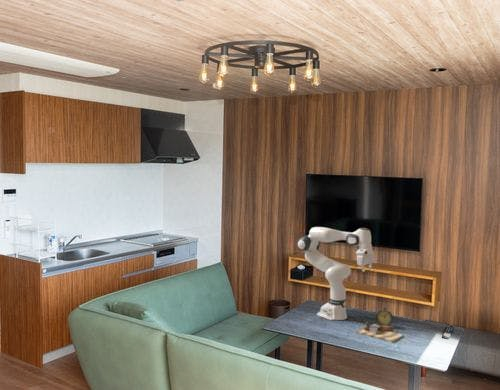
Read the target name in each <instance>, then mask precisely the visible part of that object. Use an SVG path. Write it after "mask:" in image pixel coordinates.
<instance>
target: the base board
mask: <svg viewBox="0 0 500 390" xmlns="http://www.w3.org/2000/svg"><path fill="white" fill-rule="evenodd" d="M356 334H359V335H362V336H365V337H366V336H367V337H370V338H374V339H378V340H382V341H386V342H389V343H393V344H394V343H395V342H396V341H398V340H399V339H401V338H403V337H404V334H402V333H398V332H394V331H377V334H373V333H369V331H368V330H364V327H362V328H360V329H358V330H357V331H356Z"/></svg>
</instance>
